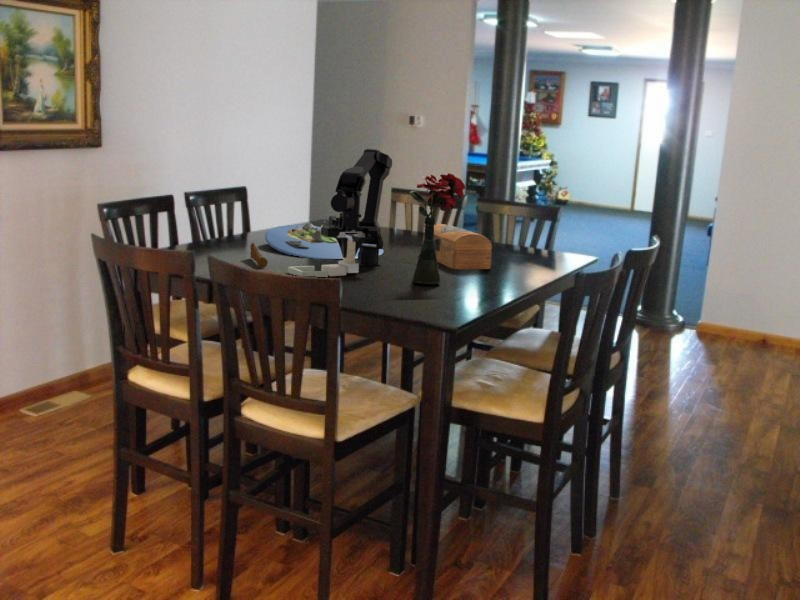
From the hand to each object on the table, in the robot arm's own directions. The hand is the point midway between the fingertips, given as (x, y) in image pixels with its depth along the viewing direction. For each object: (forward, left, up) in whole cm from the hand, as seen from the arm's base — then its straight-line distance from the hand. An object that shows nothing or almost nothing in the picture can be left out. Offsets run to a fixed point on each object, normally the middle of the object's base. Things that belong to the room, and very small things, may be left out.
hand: (348, 257), depth 270 cm
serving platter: (-13, -46, -7) cm, 48 cm away
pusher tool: (0, 0, -4) cm, 4 cm away
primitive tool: (+21, -27, -8) cm, 35 cm away
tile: (+5, 0, -6) cm, 8 cm away
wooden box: (-50, -10, -6) cm, 51 cm away
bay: (+15, 0, -5) cm, 16 cm away
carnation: (-20, +19, -6) cm, 28 cm away
